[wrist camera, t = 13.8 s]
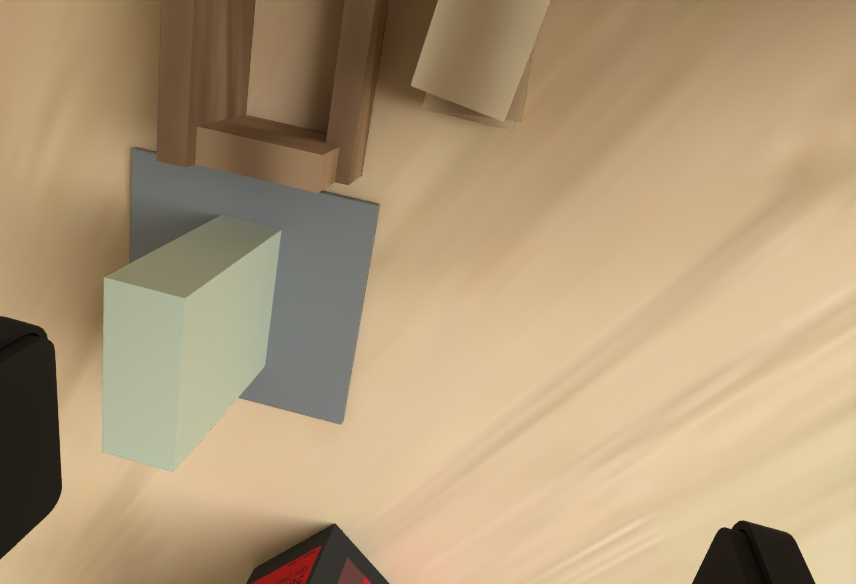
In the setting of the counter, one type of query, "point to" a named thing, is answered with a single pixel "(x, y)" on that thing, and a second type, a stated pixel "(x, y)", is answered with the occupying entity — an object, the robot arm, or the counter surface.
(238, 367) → the sage green brick
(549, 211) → the counter surface
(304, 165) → the rack
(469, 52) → the offcut top
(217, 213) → the mat
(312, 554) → the cleaning product box
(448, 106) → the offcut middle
